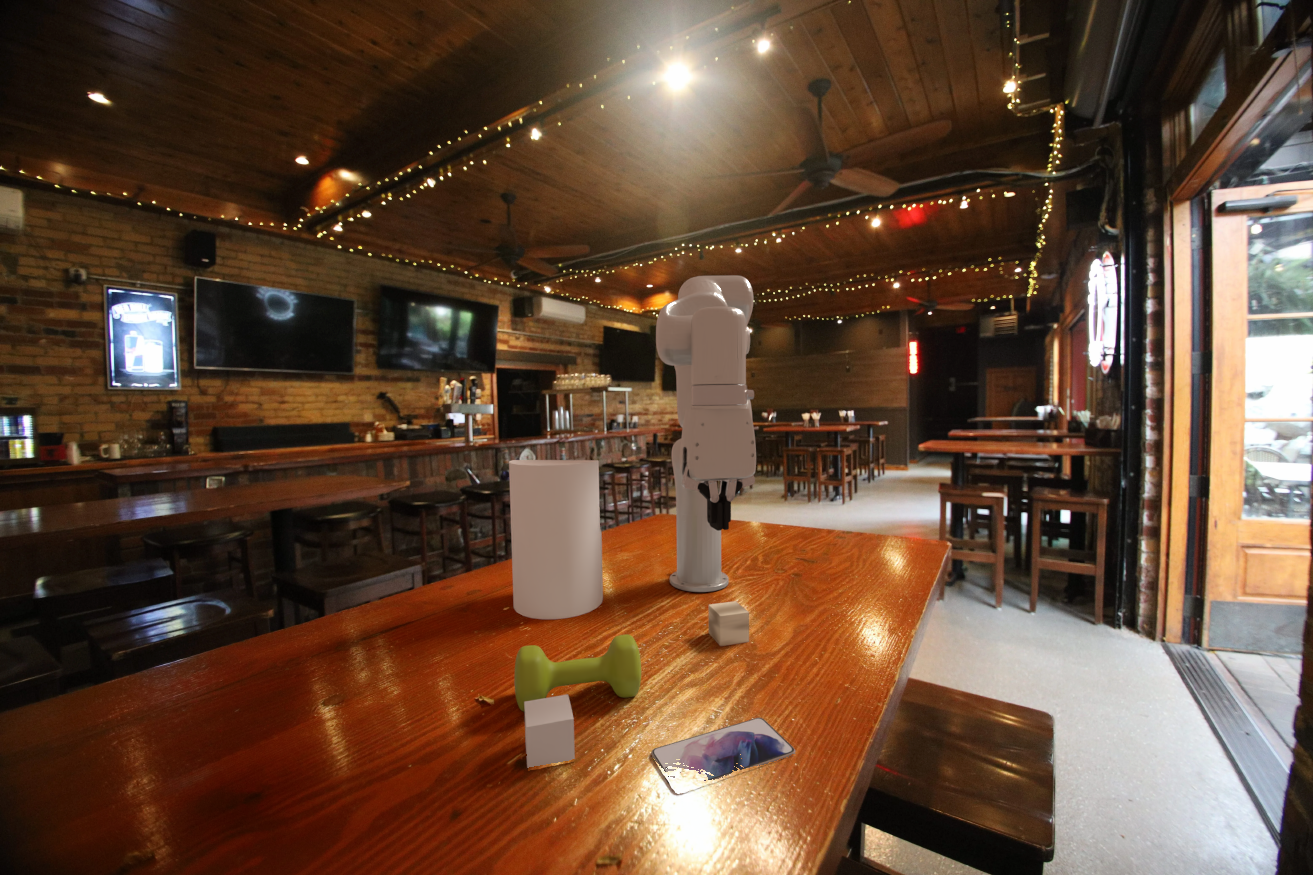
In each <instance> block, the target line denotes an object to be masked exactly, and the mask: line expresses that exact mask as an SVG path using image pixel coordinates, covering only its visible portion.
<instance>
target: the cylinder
mask: <svg viewBox="0 0 1313 875" xmlns="http://www.w3.org/2000/svg"><path fill="white" fill-rule="evenodd" d="M599 463H600V462H599V460H597V459H596V460H595V459H594V460H593V459H592V460H591V459H585V460H583V459H579V460H578V459H512V460H509V461H508V472H509V474H508V475H509V501H510V502H509V503H510V504H509V505H510V533H511V538H510V539H511V559H512V560H511V565H512V569H511V570H512V595H513V596H512V599H513V602H512V603H513V609H514V611H515V612H516V613H518V614H520V616H521V615H522V616H523V617H526V618H530V619H538V620H560V619H561V620H562V619H568V618H574V617H578V616H581V615H586V614H588V613H590V612H593V610H594V611H595V609H597V608H599V607H600V605H601V604H603V601H604V594H603V593H604V588H603V586H604V584H603V581H604V580H603V541H602V539H603V537H602V536H603V535H602V532H603V531H602V529H601V525H600V523H601V520H600V519H601V518H600V517H601V515H600V514H601V512H600V508H601V507H600V471H599V468H600V466H599V465H600V464H599Z"/></svg>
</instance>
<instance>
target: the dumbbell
mask: <svg viewBox="0 0 1313 875" xmlns="http://www.w3.org/2000/svg"><path fill="white" fill-rule="evenodd" d="M640 654H641V653H640V650H639V646H638V644H637V641H636V640H635V638H634V636H632V635H631V634H626V633H625V634H619V635H616V636H614V637H613V638H612V640H611V642H610V645H609V647H608V649H607V650H606V652H605V653H604V654H603V655H601V656H597V657H586V658H577V659H571V660H564V661H558V662H557V661H552V660H550V659H549V658H548V657H547V655H546V654H545V652H544V651H543V649H542V648H541V647H540V646H539V645H536V644H535V645H534V644H533V645H532V644H531V645H524V646H521V647H520V648H519V649H518V651H517V653H516V656H515V663H514V664H515V665H514V678H513V680H514V694H515V699H516V703H517V705H518V708H519V710H521V712H523V713H525V709H524V702H525V701H531V700H537V699H543V698H547V697H548V694H549V693H550V691H551V690H554V689H555V688H558V687H562V686H563V687H566V686H573V685H579V684H586V683H596V682H606V683H608V684H609V685H610V686H611V688H612V690H613V691H614V693H615V694H616V695H617V696H618V698H623V699H625V698H633V697H636V696H637V695H638V693H639V691H640V687H641V682H642V662H641V655H640Z"/></svg>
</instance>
